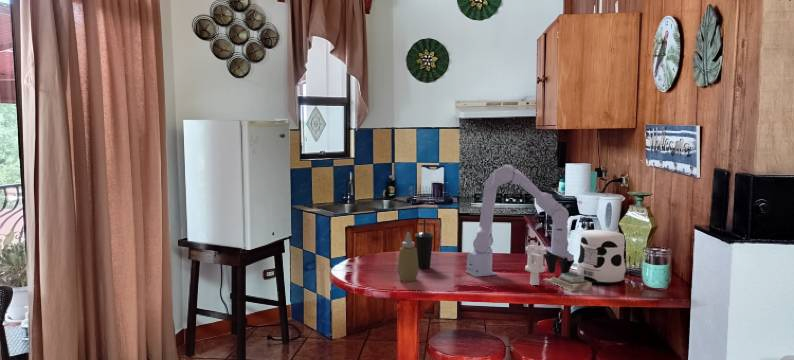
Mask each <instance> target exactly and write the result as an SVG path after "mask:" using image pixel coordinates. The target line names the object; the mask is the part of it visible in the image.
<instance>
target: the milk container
mask: <svg viewBox="0 0 794 360" xmlns="http://www.w3.org/2000/svg"><path fill="white" fill-rule="evenodd" d="M579 243H580V244H579V257H578V259H577V263H576V272H577V273H576V274H579V275H582V276H584V280H586V281H589V282H592V284H593V283H594V284H599V285H612V284H618V283H621V282H623V281H624V279H625V277H626V263H625V258H624V254H625V243H626V242H625V235H624V234H623V233H621V232H617V231H612V230H606V229H605V230H604V229H587V230H584V231H581V233H580V242H579Z"/></svg>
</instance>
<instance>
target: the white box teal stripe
mask: <svg viewBox="0 0 794 360" xmlns="http://www.w3.org/2000/svg"><path fill="white" fill-rule="evenodd" d="M559 277H560V279H561V280H563V281H567V282H569V283H571V284H575V283H583V282H584V276H582V275H579V274H578V273H576V272H574V271H569V272H566V273H561V272H560V275H559Z"/></svg>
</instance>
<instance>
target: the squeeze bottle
mask: <svg viewBox="0 0 794 360" xmlns="http://www.w3.org/2000/svg"><path fill="white" fill-rule="evenodd" d="M415 245H416V241H412V235H411V232H406V235H405V239H404V241H402V243H401V247H400V248H399V254H398V261H397V262H398V263H397V273H398V277H399V279H400V281H403V282H413V281H416V280H417V277H418V274H419V270H420V268H419V267H418V256H417V247H415Z"/></svg>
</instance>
